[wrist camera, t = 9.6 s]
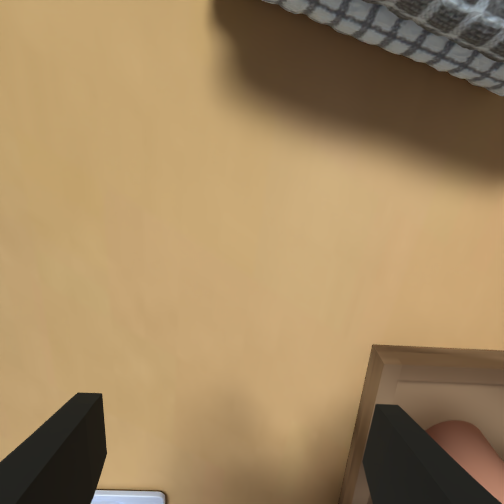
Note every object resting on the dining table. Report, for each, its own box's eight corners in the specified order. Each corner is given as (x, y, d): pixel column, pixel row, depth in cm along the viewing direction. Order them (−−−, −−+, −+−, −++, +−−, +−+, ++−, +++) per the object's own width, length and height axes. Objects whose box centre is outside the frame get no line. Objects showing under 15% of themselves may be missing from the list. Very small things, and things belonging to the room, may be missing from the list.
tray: (498, 516, 27) (515, 543, 25) (336, 512, 26) (343, 540, 24) (568, 353, 22) (596, 373, 20) (372, 344, 21) (384, 364, 20)
